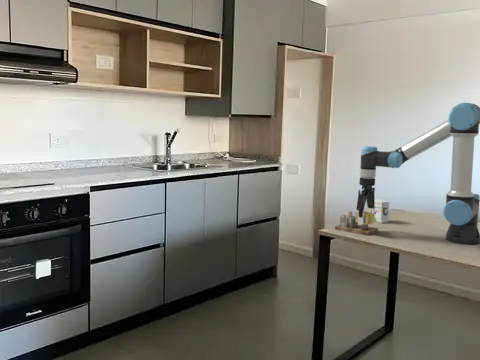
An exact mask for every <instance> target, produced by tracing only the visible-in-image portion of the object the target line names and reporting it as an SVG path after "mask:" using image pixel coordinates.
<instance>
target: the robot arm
mask: <svg viewBox="0 0 480 360" xmlns="http://www.w3.org/2000/svg"><path fill="white" fill-rule="evenodd" d="M447 118H448V119H447V120H445V121H443V122H442V123H440V124H439V125H437V126H435V127H433V128H431V129H430V130H428V131H426V132H424V133H423V134H421V135H420V136H417V137H416V138H413V139H412V140H410V141H409V142H406V143H405V144H403V145H401V147H398V148H396V149H395V150H392V151H380V150H378V147H377V146H370V145H365V146H362V148H361V154H360V170H359V176H360V177H359V183H358V184H359V185H360V186H361V188H360V189H358V190H357V191H358V192H357V193H358V195H357V204H356V211H358V212H359V216H358V224H359V225H362V224H364V211H366V212H371V213H373V208H374V207H373V206H375V200H376V199H375V190H376V187H374V186H375V185H376V175H377V167H383V168H389V169H399V168H400V167H401V166H402V165H403V164H405V162H408V161H409V160H411V159H413V158H414V157H416V156H418V155H420V154H422V153H424V152H425V151H427V150H429V149H431V148H433V147H434V146H437V145H438V144H441V143H442V142H444V141H445V140H448V139H449V138H451V137H452V154H451V155H452V156H451V170H450V171H451V172H450V187H449V188H450V190H449V191H447V193H446V196H445V199H446V200H445V204H444V206H443V209H442V210H443V212H442V213H443V216H444V218H445V220H446V221H447V222H448V223H449V225H448V228H447V231H446V233H445V239H446V241H449V242H452V243H456V244H463V245H477V244H480V232H479V231H480V230H479V228H478V224H479V223H478V222H479V221H478V220H479V213H480V212H479V211H480V209H479V208H480V195H479V194H477V193H473V192H472V183H473V182H472V181H473V170H474V169H473V165H474V154H475V153H474V152H475V151H474V149H475V138H476V137H477V136H478V135H479V131H480V130H479V129H480V106H479V105H477V104H475V103H470V102H460V103H458V104H456V105H455V106H453V107H452V108H451V109H450V110H449V113H448V117H447ZM366 205H367V208H366V210H365V206H366Z"/></svg>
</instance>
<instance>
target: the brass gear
mask: <svg viewBox="0 0 480 360" xmlns="http://www.w3.org/2000/svg"><path fill="white" fill-rule="evenodd" d="M355 216H356V221H355V222H357V223H358V216H359V211H357V212H355ZM374 216H375V213H373V212H372V213H371V212H366V210H364V224H366V225H367V224H368V225H372V224H374V223H375V221H374ZM358 224H359V223H358Z"/></svg>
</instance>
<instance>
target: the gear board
mask: <svg viewBox="0 0 480 360" xmlns="http://www.w3.org/2000/svg"><path fill="white" fill-rule="evenodd" d="M355 221H356V215H353V211H350V210H348V211H346V212H345V215H344V214H343V215H341V216H340V218H339V225H335V226H334V230H337V231H343V232H348V233H353V234H359V235H363V236H369V235H372V234H374V233H377V232H379V228H377V227H374V226H373V227H372V226H369V224H367V225H366V224H359V223H357V222H355Z"/></svg>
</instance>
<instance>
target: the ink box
mask: <svg viewBox="0 0 480 360" xmlns="http://www.w3.org/2000/svg"><path fill="white" fill-rule="evenodd" d="M373 207H374V208H372V213H375V216H374V222H376V223H381V224H384V223H385V224H387V223H389V213H390V202H389V201H388V200H384V199H380V198H378V199H375V206H373Z"/></svg>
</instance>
